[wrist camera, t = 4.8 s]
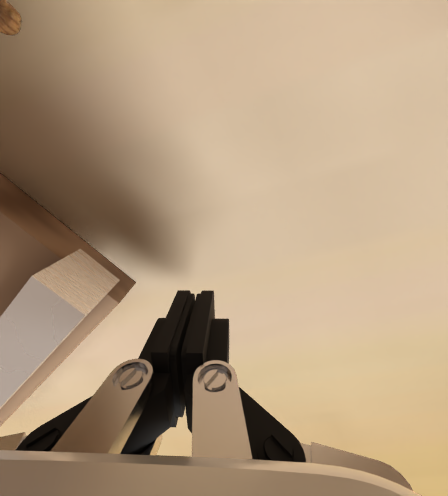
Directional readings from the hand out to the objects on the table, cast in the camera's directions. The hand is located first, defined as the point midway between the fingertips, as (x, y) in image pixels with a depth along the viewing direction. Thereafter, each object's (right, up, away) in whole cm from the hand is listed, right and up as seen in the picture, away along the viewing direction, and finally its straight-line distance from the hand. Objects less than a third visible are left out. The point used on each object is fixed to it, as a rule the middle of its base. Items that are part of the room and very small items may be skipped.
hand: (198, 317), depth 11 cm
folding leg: (-11, -3, +3) cm, 11 cm away
